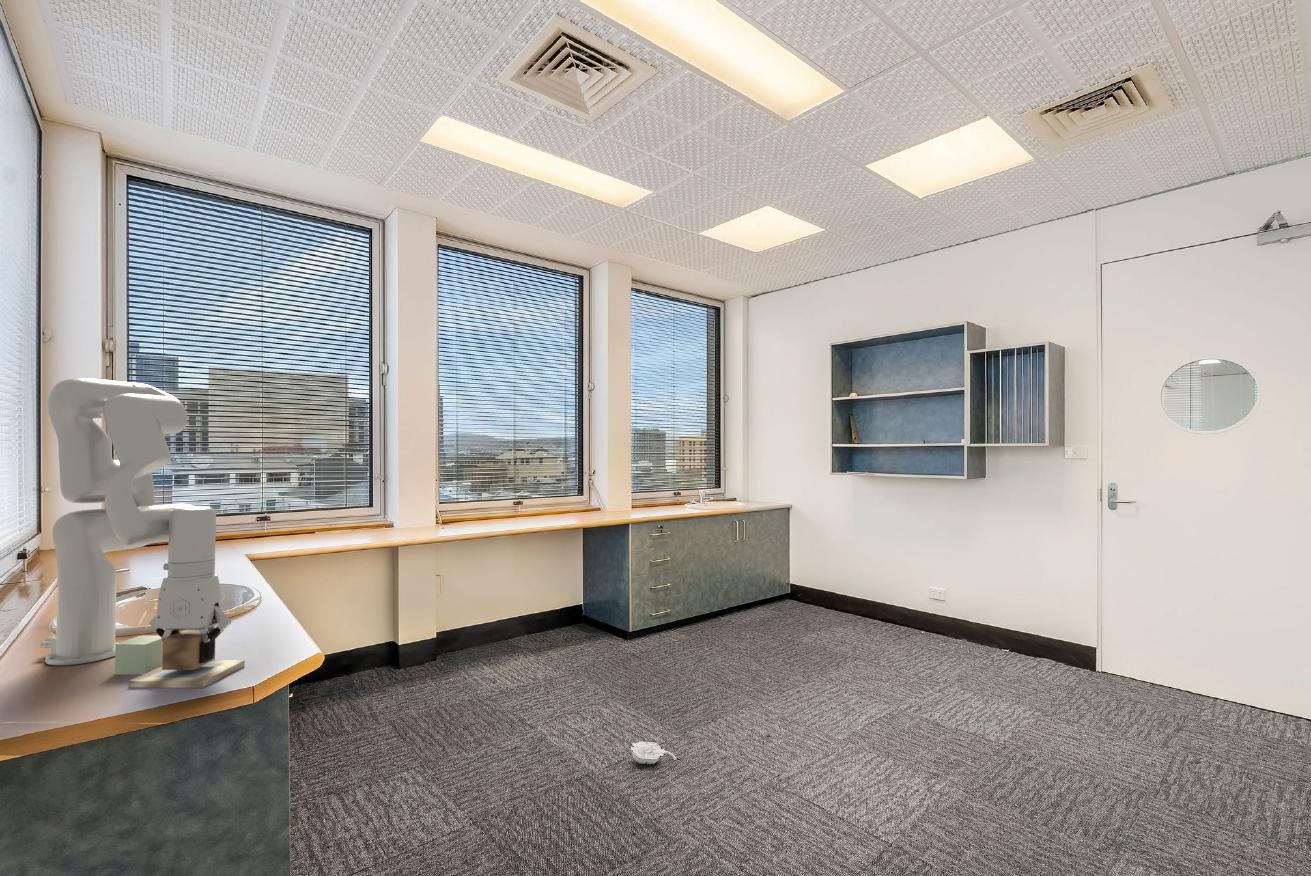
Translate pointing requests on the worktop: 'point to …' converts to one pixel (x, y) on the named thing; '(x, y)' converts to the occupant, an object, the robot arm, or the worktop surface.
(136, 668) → the sage cube
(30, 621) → the worktop surface
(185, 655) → the walnut cube
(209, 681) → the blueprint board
